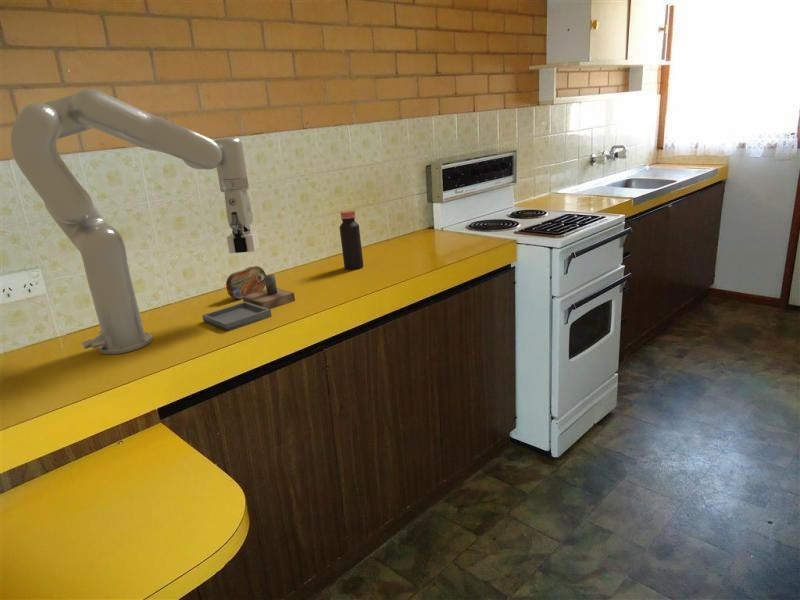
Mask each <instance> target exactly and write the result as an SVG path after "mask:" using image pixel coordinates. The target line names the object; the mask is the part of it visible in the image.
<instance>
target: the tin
mask: <svg viewBox="0 0 800 600" xmlns="http://www.w3.org/2000/svg"><path fill="white" fill-rule="evenodd" d="M266 275H267V274H266V272H265V270H264V269H263V268H262V267H260V266H257V265H255V266H249V267H246V268H244V269H241V270H239V271H235V272H232V273H231V274H229V275H228V277H227V279H226V283H225V286H226V287H225V288H226V290H227V291H226V292H227V294H228V295H229V297H231V298H232V299H238V300H243V297H244V296H247V295H250V294H253V293H257V292H260V291H263V290H265V289H264V288H266V283H265V277H264V276H266Z"/></svg>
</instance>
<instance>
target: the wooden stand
mask: <svg viewBox="0 0 800 600" xmlns="http://www.w3.org/2000/svg"><path fill="white" fill-rule="evenodd" d="M264 277H265V283H266V285H265V288H266V289H263V290H262V291H260V292H257V293H253V294H250V295H247V296H244V297H243V299H242V303H243V302H248V303H252V304H255V305H258V306H261V307H264V308H267V309H270V310H272V309H274V308H276V307H279V306H283V305H286V304H289V303H291V302H292V303H293V302H294V301H296V299H295V298H296V297H295V292H294V291H291V290H290V291H289V290H286V289H282V288H278V287H277V281H276V275H275V274H273V273H272V274H271V273H269V274H266V276H264Z"/></svg>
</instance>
